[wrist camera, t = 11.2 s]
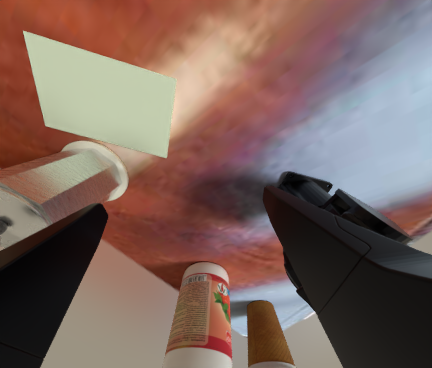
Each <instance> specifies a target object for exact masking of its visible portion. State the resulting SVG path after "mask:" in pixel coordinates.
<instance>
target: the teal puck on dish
mask: <svg viewBox="0 0 432 368" xmlns="http://www.w3.org/2000/svg"><path fill="white" fill-rule="evenodd" d="M86 148H94V149H96V150H98V151H99V152H100V153H102V154H103V155H104V156H106V157H107V158H109V159H110V160H111V161H113V162H114V163H115V164H116V166H117V169H118V172H119V175H120V178H121V181H122V184H121V186H120V187H119V188H118V190H117V191H116V192H115V194H114V195H113V196H112V197H111V198H110V199H108V200H107V201H111V200H115V199H117V198H119V197H120V196H121V195H122V194H123V193H124V192H125V191H126V190H127V187H128V184H129V176H128V172H127V169H126V167H125V165H124V164H123V162H122V161H121V159H120V158H119V157H118V156H117V155H116V154H115V153H114V152H113V151H111V150H110V149H109V148H107V147H105V146H104V145H101V144H99V143H96V142H93V141H86V140H82V141H76V142H72V143H70V144H68V145H66V146H65V147H64V148H63V149H62V151H61V152H63V151H67V150H70V149H86Z"/></svg>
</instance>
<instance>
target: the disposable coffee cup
mask: <svg viewBox="0 0 432 368" xmlns="http://www.w3.org/2000/svg"><path fill="white" fill-rule="evenodd" d="M247 329H248V368H296V367H295V365H294V362H293V359H292V356H291V354H290V351H289V348H288V345H287V342H286V340H285V337H284V335H283V331H282V329H281V326H280V323H279V321H278V318H277V315H276V312H275V310H274V307H273V305H272V304H271V303H270V302H268V301H254V302H252V303H250V304H249V305H248V306H247Z"/></svg>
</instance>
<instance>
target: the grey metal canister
mask: <svg viewBox="0 0 432 368" xmlns="http://www.w3.org/2000/svg"><path fill="white" fill-rule="evenodd" d="M121 184H122V181H121V178H120V175H119V172H118V169H117V166H116V164H115V163H114V162H113V161H111V160H110V159H109V158H107V157H106V156H104V155H103V154H102V153H100V152H99V151H98V150H96V149H94V148H86V149H70V150H67V151H63V152H60V153H56V154H53V155H49V156H46V157H42V158H39V159H36V160H32V161H29V162H25V163H22V164H18V165H15V166H11V167H8V168H4V169H1V170H0V246H1V247H4V248H7V247H9V246H11V245H13V244H15V243H17V242H18V241H20V240H22V239H24V238H26V237H28V236H30V235H32V234H34V233H36V232H38V231H40V230H42V229H44V228H45V227H47V226H49V225H51V224H53V223H55V222H57V221H59V220H61V219H63V218H65V217H67V216H69V215H71V214H72V213H74V212H76V211H78V210H80V209H82V208H84V207H86V206H88V205H90V204H92V203H101V204H103V203H105V202H106V201H107V200H108V199H110V198H111V197H112V196H113V195H114V194H115V192H116V191H117V190H118V188H119V187H120V186H121Z"/></svg>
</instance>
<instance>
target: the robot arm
mask: <svg viewBox="0 0 432 368" xmlns="http://www.w3.org/2000/svg"><path fill="white" fill-rule="evenodd" d="M290 175H292V176H291V177H290ZM327 185H329V186H327ZM332 186H333V185H332V184H331V183H330V182H327V181H323V180H320V179H316V178H313V177H309V176H305V175H302V174H298V173H295V172H289V173H288V174H287V175H286V177H285V179H284V181H283V183H282V185H280V187H279V188H276V187H274V186H266V187H265V188H264V193H263V203H264V205H265V208H266V211H267V214H268V216H269V219H270V222H271V224H272V226H273V228H274V230H275V232H276V234H277V236H278V238H279V240H280V242H281V244H282V246H283V255H284V267H285V270H286V273H287V275H288V277H289V279H290V280H291V282H292V283H293V285H294V286H295V287H296V288H297V290H296V292H297V293H298V295H299V296H300V297H302V298H303V299H304V300H305V301H306V302H307V303H308V304H309V305H310V306H311V308H312V309H313V310H314V311H315V312H316V314H317V315H318V318H319V320H320V322H321V324H322V326H323V328H324V330H325V332H326V334H327V336H328V338H329V340H330V342H331V344H332V346H333V348H334V350H335V352H336V354H337V356H338V358H339V360H340V362H341V364H342V366H343V368H432V255H431V254H428V253H424V252H422V251H419V250H416V249H414V248H412V247H409V246H408V245H407V243H409V242H410V241H412V240H414V239H413V238H412V237H410V236H409V235H408V234H407V233H406V232H405V231H404V230H402V229H401V228H400V227H399V226H398V225H397V224H396V223H394V222H393V221H391V220H390V219H388V218H387V217H385V216H384V215H382V214H381V213H379V212H378V211H376V210H375V209H373V208H372V207H370V206H368V205H367V204H365V203H363V202H362V201H360V200H358V199H356V198H355V197H353V196H351V195H349V194H348V193H346V192H344V191H343V190H341V189H338V190H337V191H336V192H335V194H334V195H333V196H331V195H330V194H329V193H328V192H329V191H330V189H331V188H332ZM107 220H108V214H107V212H106V210H105V208H104V206H103V205H102V204H101V203H92V204H90V205H88V206H86V207H84V208H82V209H80V210H78V211H76V212H74V213H72V214H71V215H69V216H67V217H65V218H63V219H61V220H59V221H57V222H55V223H53V224H51V225H49V226H47V227H45V228H44V229H42V230H40V231H38V232H36V233H34V234H32V235H30V236H28V237H26V238H24V239H22V240H20V241H18V242H17V243H15V244H13V245H11V246H9V247H7V248H5V249H3V250H1V251H0V368H40V367H41V365H42V362H43V359H44V358H45V356H46V354H47V352H48V350H49V347H50V345H51V343H52V341H53V339H54V337H55V335H56V333H57V331H58V329H59V327H60V325H61V322H62V320H63V318H64V316H65V314H66V312H67V310H68V308H69V306H70V304H71V302H72V299H73V297H74V295H75V293H76V291H77V289H78V287H79V285H80V283H81V281H82V278H83V276H84V274H85V272H86V270H87V268H88V266H89V264H90V262H91V260H92V258H93V256H94V253H95V251H96V249H97V247H98V245H99V242H100V240H101V237H102V234H103V231H104V229H105V226H106V223H107Z"/></svg>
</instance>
